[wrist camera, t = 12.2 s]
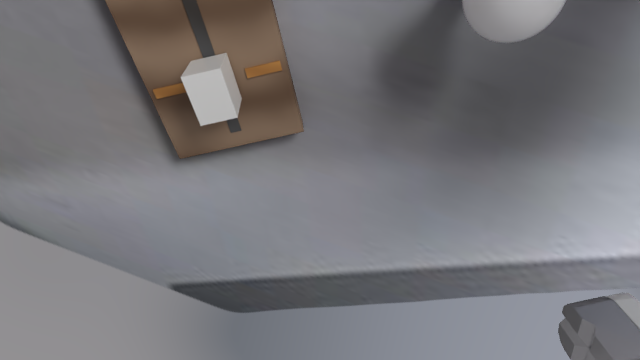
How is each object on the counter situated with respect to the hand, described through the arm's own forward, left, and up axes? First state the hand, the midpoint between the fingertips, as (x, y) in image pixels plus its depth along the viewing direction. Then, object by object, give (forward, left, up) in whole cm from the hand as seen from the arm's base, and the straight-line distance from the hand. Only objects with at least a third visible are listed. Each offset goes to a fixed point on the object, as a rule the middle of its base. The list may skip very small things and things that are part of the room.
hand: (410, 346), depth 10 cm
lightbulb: (-13, -3, -29) cm, 32 cm away
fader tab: (+9, 0, -27) cm, 28 cm away
